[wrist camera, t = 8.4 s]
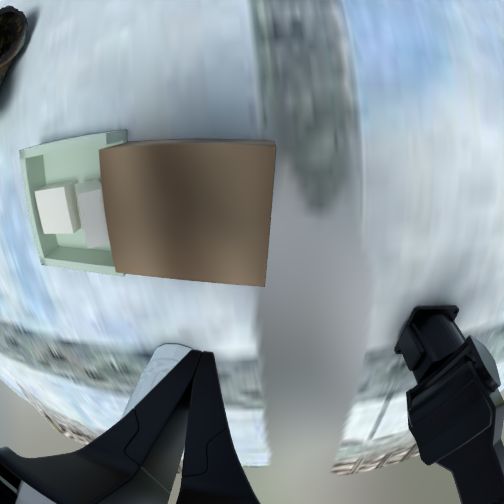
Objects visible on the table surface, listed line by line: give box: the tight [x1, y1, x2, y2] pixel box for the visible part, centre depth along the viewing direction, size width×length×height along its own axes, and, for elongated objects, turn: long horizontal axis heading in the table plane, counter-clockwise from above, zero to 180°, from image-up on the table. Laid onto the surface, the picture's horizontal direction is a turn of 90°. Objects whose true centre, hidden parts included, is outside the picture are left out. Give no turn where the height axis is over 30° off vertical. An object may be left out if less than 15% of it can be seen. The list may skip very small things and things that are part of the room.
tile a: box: [75, 179, 110, 249], centre depth 18 cm, size 4×4×2 cm
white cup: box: [120, 344, 193, 452], centre depth 24 cm, size 8×8×10 cm
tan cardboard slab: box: [99, 139, 276, 287], centre depth 18 cm, size 11×9×4 cm
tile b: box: [34, 180, 82, 234], centre depth 19 cm, size 4×4×2 cm
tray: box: [20, 130, 127, 277], centre depth 19 cm, size 10×11×3 cm
